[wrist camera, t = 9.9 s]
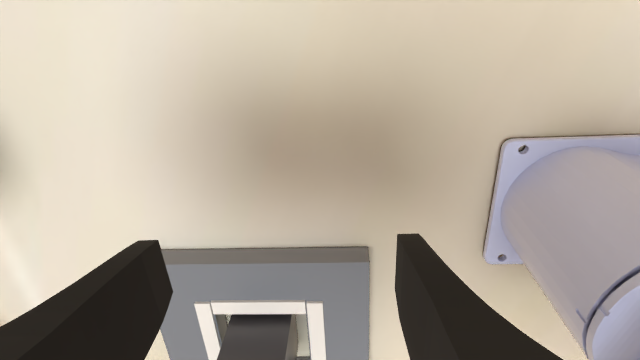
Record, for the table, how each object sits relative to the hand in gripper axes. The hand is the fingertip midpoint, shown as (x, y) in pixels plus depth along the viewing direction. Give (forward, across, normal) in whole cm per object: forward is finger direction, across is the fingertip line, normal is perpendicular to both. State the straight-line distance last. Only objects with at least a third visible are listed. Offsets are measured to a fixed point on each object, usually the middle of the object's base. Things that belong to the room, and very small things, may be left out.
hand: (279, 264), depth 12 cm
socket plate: (+10, +4, +14) cm, 18 cm away
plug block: (+10, +4, +14) cm, 18 cm away
